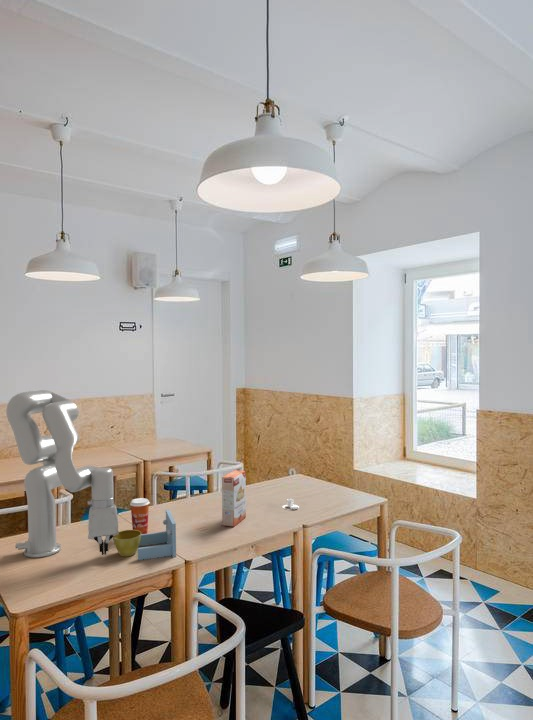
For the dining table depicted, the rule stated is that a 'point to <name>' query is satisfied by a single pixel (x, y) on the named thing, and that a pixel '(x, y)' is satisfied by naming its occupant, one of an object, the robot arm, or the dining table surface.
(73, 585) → the dining table surface
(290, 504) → the white lobed knob
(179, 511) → the dining table surface
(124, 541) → the flower pot
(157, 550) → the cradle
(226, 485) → the cracker box
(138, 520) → the paper cup
